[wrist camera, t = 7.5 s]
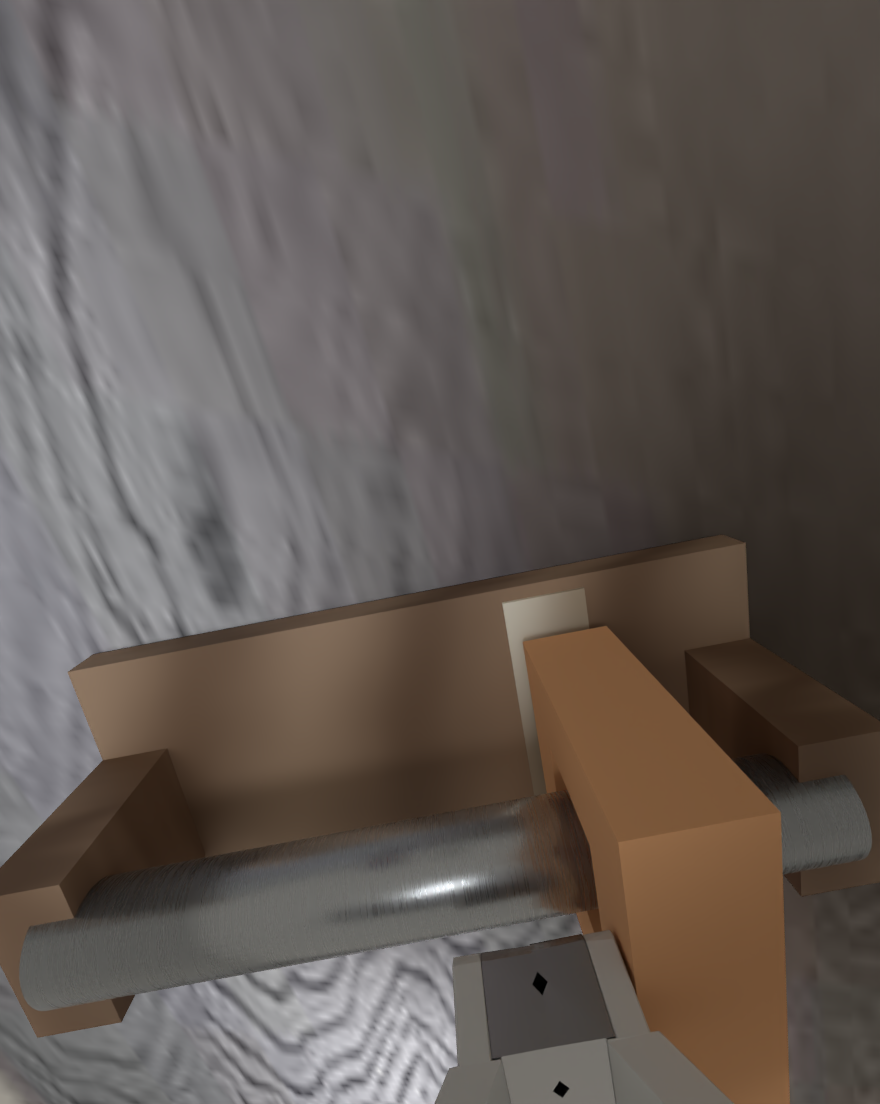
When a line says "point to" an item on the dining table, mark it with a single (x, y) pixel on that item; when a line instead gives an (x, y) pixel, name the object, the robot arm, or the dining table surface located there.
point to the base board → (402, 724)
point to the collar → (671, 858)
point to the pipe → (372, 891)
